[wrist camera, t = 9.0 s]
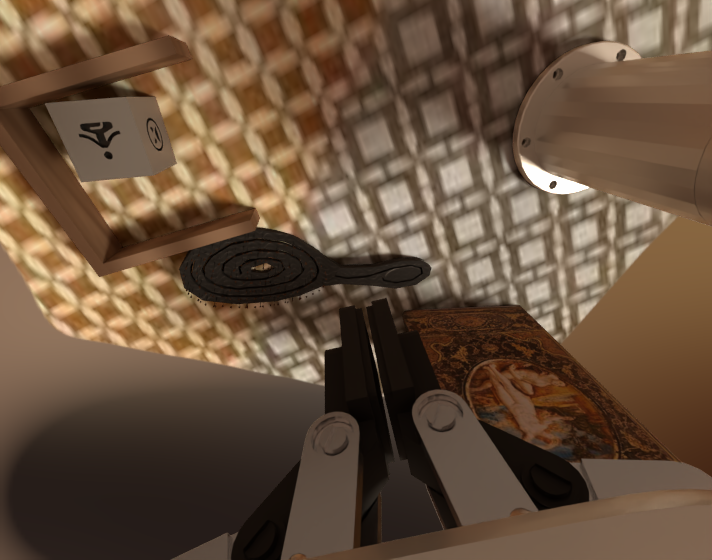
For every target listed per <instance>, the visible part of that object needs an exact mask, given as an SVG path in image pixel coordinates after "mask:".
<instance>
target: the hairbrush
mask: <svg viewBox="0 0 712 560" xmlns="http://www.w3.org/2000/svg"><path fill="white" fill-rule="evenodd" d="M257 238H260V239H257ZM267 239H268V240H267ZM274 240H276V241H274ZM279 241H284V242H286V243H283V242H279ZM232 242H234V243H232ZM230 243H231V244H230ZM287 243H289V244H287ZM290 244H291V245H290ZM299 248H300V249H299ZM266 249H269V250H266ZM301 249H303V250H305V251H306V252H307V253H306V252H305V251H303V250H301ZM251 250H252V251H251ZM278 250H280V251H278ZM217 251H218V252H217ZM246 251H247V252H246ZM284 251H286V252H284ZM242 252H243V253H242ZM287 252H288V253H287ZM214 253H215V254H214ZM289 253H290V254H289ZM212 254H214V255H213V256H211V255H212ZM209 256H211V258H210V259H209V260H208V261H207V259H208V257H209ZM295 256H296V257H298V258H299V260H301V262H302V263H301V262H300V261H299V260H298V259H297V258H296V257H295ZM310 256H312V257H313V258H314V259H315V261H316V263H317V265H318V267H319V270H318V271H317V266H316V264H315V262H314V260H313V259H312V257H310ZM268 257H271V258H268ZM273 258H275V259H273ZM228 259H229V260H228ZM248 259H249V260H248ZM277 259H279V260H277ZM227 260H228V261H227ZM246 260H247V261H246ZM280 260H281V261H282V262H280ZM421 260H422V259H420V258H417V257H416V258H396V259H392V260H388V261H384V262H379V263H375V264H357V265H340V264H338V263H337V262H335V261H333V260H332V259H330V258H328V257H326V256H325V255H323V254H322V253H321V252H320V251H318V250H317V249H315V248H314V247H313V246H310V245H309V244H307V243H306V241H305V242H304V240H303V241H302V239H299V238H298V237H296V236H294V235H291V234H287V233H284V232H280V231H277V230H272V229H266V228H256V230H255V231H253V232H249V233H246V234H242V235H239V236H236V237H232V238H229V239H226V240H222V241H219V242H216V243H212V244H209V245H205V246H202V247H199V248H195V249H192V250H189V251H188V253H187V255H186V257H185V259H184V261H183V262H182V264H181V266H180V268H179V270H180V274H181V277H182V281H183V285H184V288H185V289H186V291H187V290H188V291H190V292H191V293H193V294H194V295H196V296H197V297H199V298H200V299H202V300H204V301H213V302H222V303H231V304H239V308H240V304H244V303H247V307H245V308H248V303H258V302H271V301H274V302H275V301H278V300H282V299H287V298H291V297H292V302H293V297H295V296H299V300H300V299H301V298H300V296H301V295H302V294H305V293H307V292H310V291H312V290H314V289H317V288H319V287H322V286H323V287H324V286H327V285H336V284H354V285H371V286H380V287H388V288H401V287H406V286H411V285H416V284H418V283H419V282H421V281H422V280H424V279H425V278H426V277H428V276H429V275H430V271H431V267H430V265H429V264H427V263H425V262H423V261H421ZM194 261H195V263H194V267H193V272H191V271H192V266H193V262H194ZM206 261H207V263H206V266H205V272H204V269H203V266H204V264H205V262H206ZM225 261H226V262H225ZM224 262H225V265H224V270H223V269H222V266H223V263H224ZM244 262H245V263H244ZM265 263H268V264H270V265H271V269H269V268H268V270H264V271H256V269H253V270H251V268H252V267H256V266H258V265H261V264H263V269H264V264H265ZM282 263H283V264H282ZM241 264H242V265H241ZM302 264H303V267H304V268H303V272H302ZM240 265H241V269H240V268H239V267H240ZM283 265H284V269H283ZM272 266H273V267H275V268H272ZM419 267H420V268H421V269H420V268H419ZM282 270H283V271H282ZM421 270H422V271H421ZM280 271H282V272H281V273H279V272H280ZM316 272H317V273H316ZM298 274H299V275H298ZM269 276H271V277H269ZM295 276H296V277H295ZM294 277H295V278H294ZM382 277H383V278H382ZM292 278H293V279H292ZM291 279H292V280H291ZM289 280H291V281H289ZM277 283H279V284H277ZM272 284H273V285H272ZM287 290H288V291H287ZM319 291H320V290H319ZM188 294H189V293H188ZM313 294H314V293H312V295H313ZM190 298H192V295H191V296H190ZM306 298H307V296H306ZM198 301H199V299H198ZM200 303H201V301H200ZM285 303H286V301H285ZM287 303H288V301H287ZM274 305H275V304H274ZM277 305H279V304H277ZM205 306H206V304H205ZM214 306H215V303H214ZM214 306H213V307H214ZM270 306H271V304H270ZM215 307H216V306H215ZM222 307H223V305H222ZM260 307H261V303H260ZM262 307H264V306H262ZM230 308H232V306H231V307H230ZM255 308H256V306H255Z"/></svg>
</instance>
